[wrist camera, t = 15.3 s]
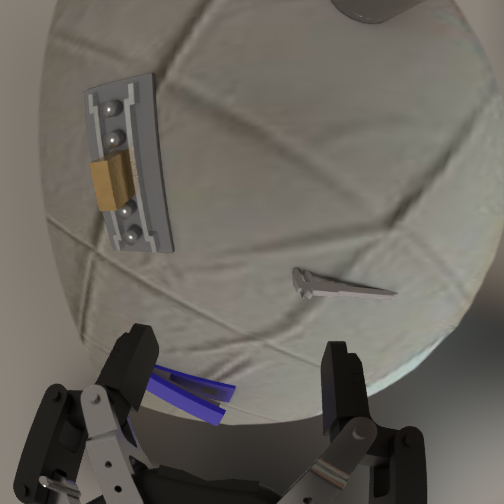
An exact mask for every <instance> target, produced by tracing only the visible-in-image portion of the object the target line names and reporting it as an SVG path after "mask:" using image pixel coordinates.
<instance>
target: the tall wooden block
mask: <svg viewBox="0 0 504 504" xmlns="http://www.w3.org/2000/svg"><path fill="white" fill-rule="evenodd" d="M90 168H91V173H92V178H93V183H94V188H95V192H96V197H97V201H98V205H99V210H100V211H117V210H118V209H119V208H120V207H121V206H122V205H124V204H125V203H126V202H127V201H128V200H129V199H131V198H132V197H133V196H134V195H135V194H136V192H135V186H134V180H133V174H132V168H131V161H130V154H129V149H126V150H118V151H112V152H110V153H108V154H106V155H104V156H102V157H100V158H98V159H97V160H95V161H93V162H91V163H90Z"/></svg>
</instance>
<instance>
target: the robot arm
mask: <svg viewBox="0 0 504 504" xmlns="http://www.w3.org/2000/svg"><path fill="white" fill-rule="evenodd" d="M423 1H425V0H332V2H333V4H334V5H335V6H336V7H337V8H338V9H339V10H340V11H341V12H342V13H344V14H345V15H347V16H348V17H350V18H352V19H354V20H357V21H360V22H363V23H370V24H376V23H382V22H385V21H387V20H388V19H390V18H392V17H394V16H396V15H398V14H400V13H402V12H403V11H405V10H407V9H409V8H411V7H413V6H415V5H417V4H419V3H421V2H423ZM158 355H159V345H158V342H157V340H156V337H155V335H154V332H153V330H152V327H151V326H149V325H143V324H138V323H135V324H134V325H133V326H132V328H131V330H130V332H129V333H126V332H125V333H124V334H123V335H122V336H121V337H120V338H118V339H117V341H116V343H115V345H114V347H113V350H112V351H111V353H110V355H109V357H108V359H107V361H106V363H105V365H104V367H103V369H102V371H101V373H100V375H99V377H98V380H97V381H96V383H95V384H94V385H90V386H88V387H87V388H85V389H84V390H82V391H80V390H79V391H78V390H77V391H76V390H67V389H66V388H65V387H64V386H62V385H61V384H53V385H51V386H50V387H49V388H48V389H47V390H46V392H45V394H44V397H43V399H42V401H41V404H40V406H39V408H38V411H37V413H36V416H35V418H34V421H33V424H32V426H31V429H30V431H29V434H28V437H27V440H26V443H25V446H24V449H23V452H22V455H21V458H20V461H19V465H18V469H17V472H16V476H15V480H14V484H13V489H14V492H15V495H16V497H17V498H18V499H19V500H20V501H21V502H22V503H24V504H81V503H80V500H79V498H80V497H81V492H80V491H79V489H78V487H77V485H76V483H75V482H76V478H77V475H78V470H79V467H80V463H81V460H82V456H83V453H84V449H85V446H86V447H87V450H88V454H89V457H90V460H91V464H92V467H93V470H94V472H95V475H96V478H97V481H98V483H99V486H100V489H101V491H102V494H103V495H101V496H99V497H97V498H95V499H94V500H92V501H90V502H88V503H86V504H330V503H331V502H332V501H333V500H334V498H335V497H336V496H337V495H338V494H339V493H340V491H341V490H342V489H343V487H344V486H345V485H346V483H347V479H348V478H349V476H350V475H351V473H352V472H353V470H354V469H355V468H356V467H357V465H358V464H362V465H367V466H370V483H369V504H427V472H426V457H425V446H424V438H423V434H422V432H421V431H420V430H419V429H418V428H416V427H413V426H407V427H404V428H402V429H401V430H395V429H390V428H385V427H381V426H379V425H377V424H376V423H375V422H374V421H373V420H372V418H371V416H370V413H369V406H368V398H367V392H366V385H365V379H364V375H363V367H362V362H361V361H360V359H359V358H358V356H357V354H356V353H348V352H347V346H346V342H345V341H328V343H327V346H326V349H325V352H324V355H323V358H322V362H321V387H322V410H323V436H330V444H329V445H328V446H327V448H326V449H325V450H324V451H323V453H322V454H321V455H320V456H319V457H318V458H317V460H316V461H315V462H314V463H313V464H312V465H311V466H310V468H309V469H308V470H307V471H306V472H305V473H304V474H303V475H302V476H301V477H300V478H299V479H298V480H297V481H296V482H295V483H294V484H293V485H292V486H291V487H290V488H289V489H288V490H287V491H286V492H285V493H284V494H283V495H282V496H281V495H280V494H279V493H278V492H276V491H275V490H273V489H271V488H269V487H266V486H264V485H260V484H259V482H258V481H247V480H238V479H228V480H215V481H206V480H203V479H201V478H199V477H196V476H194V475H192V474H189V473H187V472H185V471H183V470H179V469H175V468H171V467H167V466H163V465H160V467H159V468H152V466H151V464H150V462H149V460H148V458H147V457H146V455H145V454H144V453H143V451H142V450H141V448H140V446H139V443H138V441H137V438H136V436H135V433H134V431H133V428H132V425H131V423H130V420H129V417H128V414H129V411H130V410H131V411H134V412H138V409H139V407H140V404H141V401H142V398H143V396H144V393H145V390H146V387H147V385H148V382H149V379H150V377H151V374H152V371H153V369H154V366H155V363H156V361H157V358H158ZM88 436H89V439H88Z"/></svg>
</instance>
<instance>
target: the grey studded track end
mask: <svg viewBox="0 0 504 504" xmlns="http://www.w3.org/2000/svg"><path fill="white" fill-rule="evenodd" d="M133 180H134V186H135V192H136V198H137V203H138V208H139V213H140V218H141V223H142V228H143V232H144V237H145V241H146V242H150V244H151V248H152V252H154V253H157V252H158V250H159V249H160V244H159V239H158V234H157V231H152V226H151V221H150V216H149V211H148V205H147V199H146V193H145V187H144V181H143V174H142V171H141V172H140V173H138V174H134V175H133ZM136 210H137V204H136V202H135V201H134V200H133V199H129V200H128V201H127V202H126V203H125V204H124V205H122V206H121V207H120V208H119V209H118V210H117V211H111V216H112V220H113V224H114V228H115V231H116V232H115V233H114V234H113V238H114V242H115V245H116V248H117V250H120V251H121V250H122V248H123V247H124V246H125V245H124V242H125V243H126V244H127V245H129V246H132V245H134V244H135V243H136V242H137V240H138V239H139V238H140V237H141V235H142V229H141V228H140V227H139V226H138V225H136V224H133V225H131V226H130V227H129V229H128V230H127V231H126V232H125V231H124V226H123V222H122V220H127V219H128V218H129V217H130V216H131V215H132V214H133V213H134V212H135V211H136Z"/></svg>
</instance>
